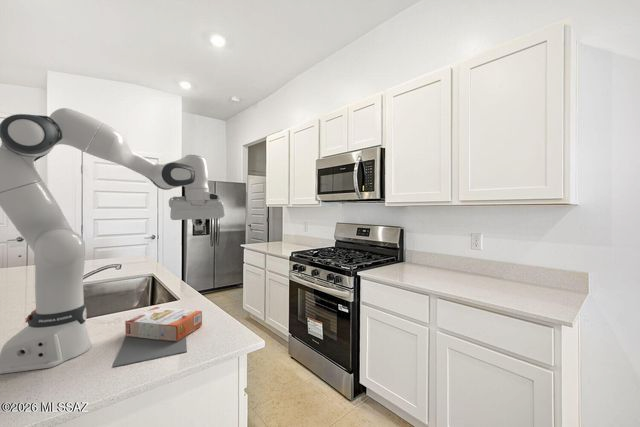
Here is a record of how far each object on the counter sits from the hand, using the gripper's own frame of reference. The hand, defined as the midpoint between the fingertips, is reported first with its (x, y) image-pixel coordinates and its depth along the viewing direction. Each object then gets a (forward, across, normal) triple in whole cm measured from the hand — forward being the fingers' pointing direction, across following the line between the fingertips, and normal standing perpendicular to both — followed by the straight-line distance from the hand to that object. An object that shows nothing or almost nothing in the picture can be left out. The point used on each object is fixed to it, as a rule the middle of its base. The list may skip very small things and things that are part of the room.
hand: (199, 230), depth 117 cm
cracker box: (+32, -4, -16) cm, 36 cm away
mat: (+35, -16, -18) cm, 43 cm away
